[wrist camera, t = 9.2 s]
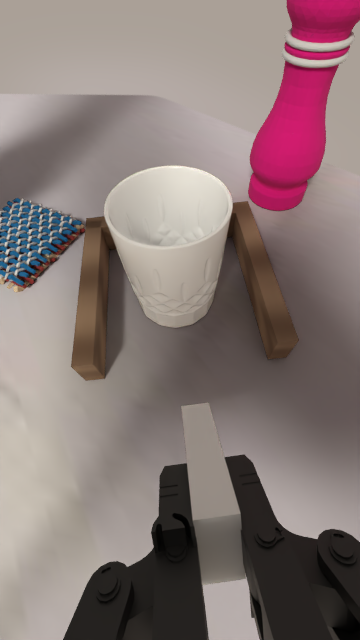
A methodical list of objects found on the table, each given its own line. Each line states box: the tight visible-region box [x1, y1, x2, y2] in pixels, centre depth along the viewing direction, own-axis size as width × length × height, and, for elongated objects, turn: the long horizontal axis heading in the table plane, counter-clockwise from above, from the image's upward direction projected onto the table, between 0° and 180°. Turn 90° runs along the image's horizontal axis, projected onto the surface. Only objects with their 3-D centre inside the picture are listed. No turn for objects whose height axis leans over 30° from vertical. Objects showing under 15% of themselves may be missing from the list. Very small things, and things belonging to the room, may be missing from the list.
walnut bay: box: [71, 201, 299, 381], centre depth 24 cm, size 16×16×3 cm
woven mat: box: [0, 198, 85, 292], centre depth 29 cm, size 10×11×2 cm
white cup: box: [104, 166, 233, 328], centre depth 21 cm, size 8×8×10 cm
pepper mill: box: [248, 0, 360, 211], centre depth 24 cm, size 7×7×20 cm
